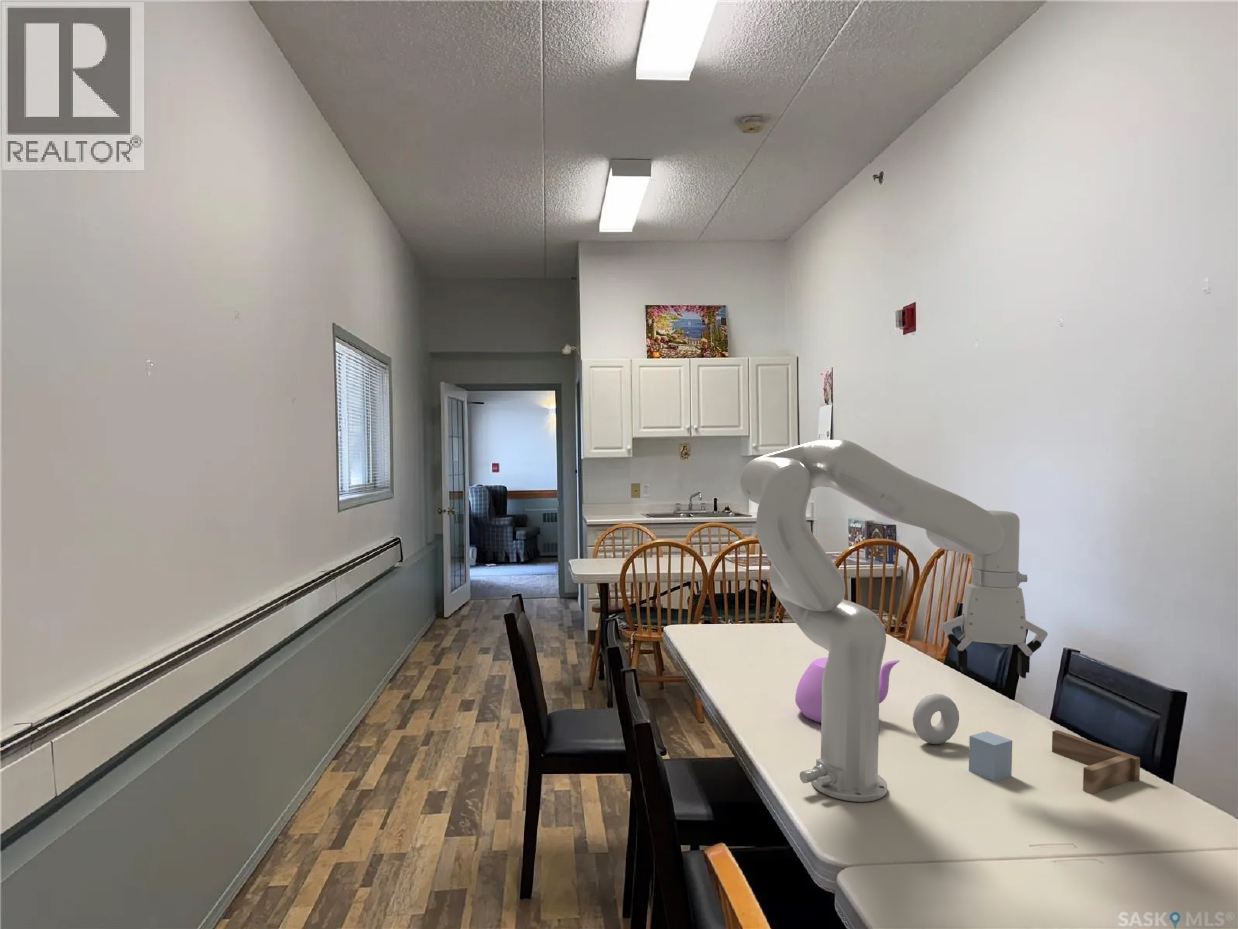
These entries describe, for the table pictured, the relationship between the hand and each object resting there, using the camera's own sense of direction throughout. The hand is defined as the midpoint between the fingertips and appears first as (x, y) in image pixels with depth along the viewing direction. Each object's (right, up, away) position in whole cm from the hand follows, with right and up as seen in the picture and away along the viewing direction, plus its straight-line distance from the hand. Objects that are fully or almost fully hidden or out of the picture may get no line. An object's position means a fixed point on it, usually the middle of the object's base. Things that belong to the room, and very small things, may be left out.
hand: (992, 673), depth 137 cm
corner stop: (+16, -18, +1) cm, 24 cm away
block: (0, -18, 0) cm, 18 cm away
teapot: (-18, -18, +28) cm, 38 cm away
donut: (-4, -18, +14) cm, 23 cm away
